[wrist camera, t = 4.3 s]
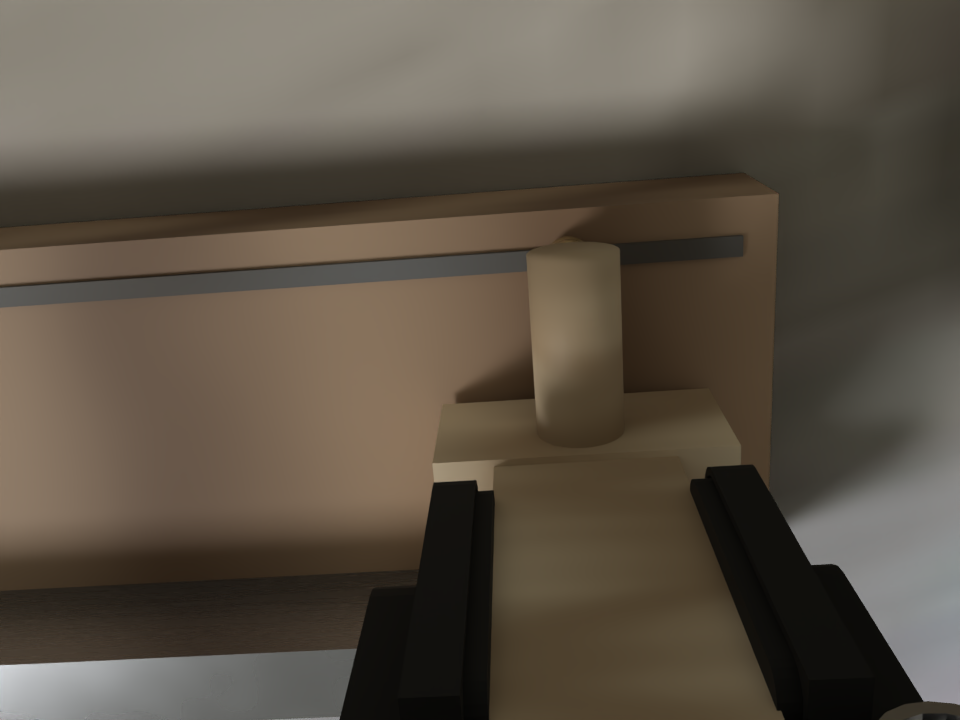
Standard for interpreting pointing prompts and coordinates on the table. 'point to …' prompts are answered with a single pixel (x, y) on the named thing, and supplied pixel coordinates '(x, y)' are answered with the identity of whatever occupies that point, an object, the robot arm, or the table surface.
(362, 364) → the wooden slotted block
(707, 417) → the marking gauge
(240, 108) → the table surface
